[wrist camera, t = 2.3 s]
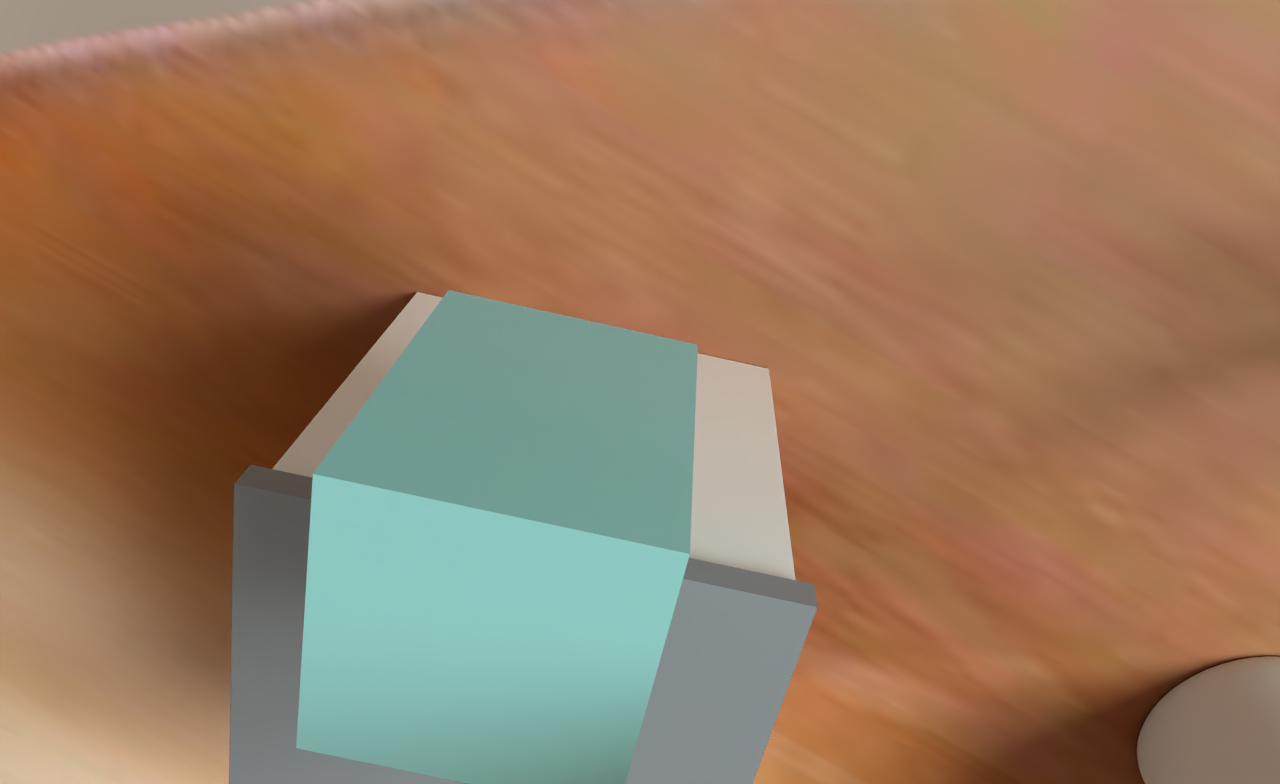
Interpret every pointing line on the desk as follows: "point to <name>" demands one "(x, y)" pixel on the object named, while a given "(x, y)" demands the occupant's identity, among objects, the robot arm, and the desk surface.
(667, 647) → the lid
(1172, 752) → the mug
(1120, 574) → the desk surface
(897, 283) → the desk surface
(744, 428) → the tub
